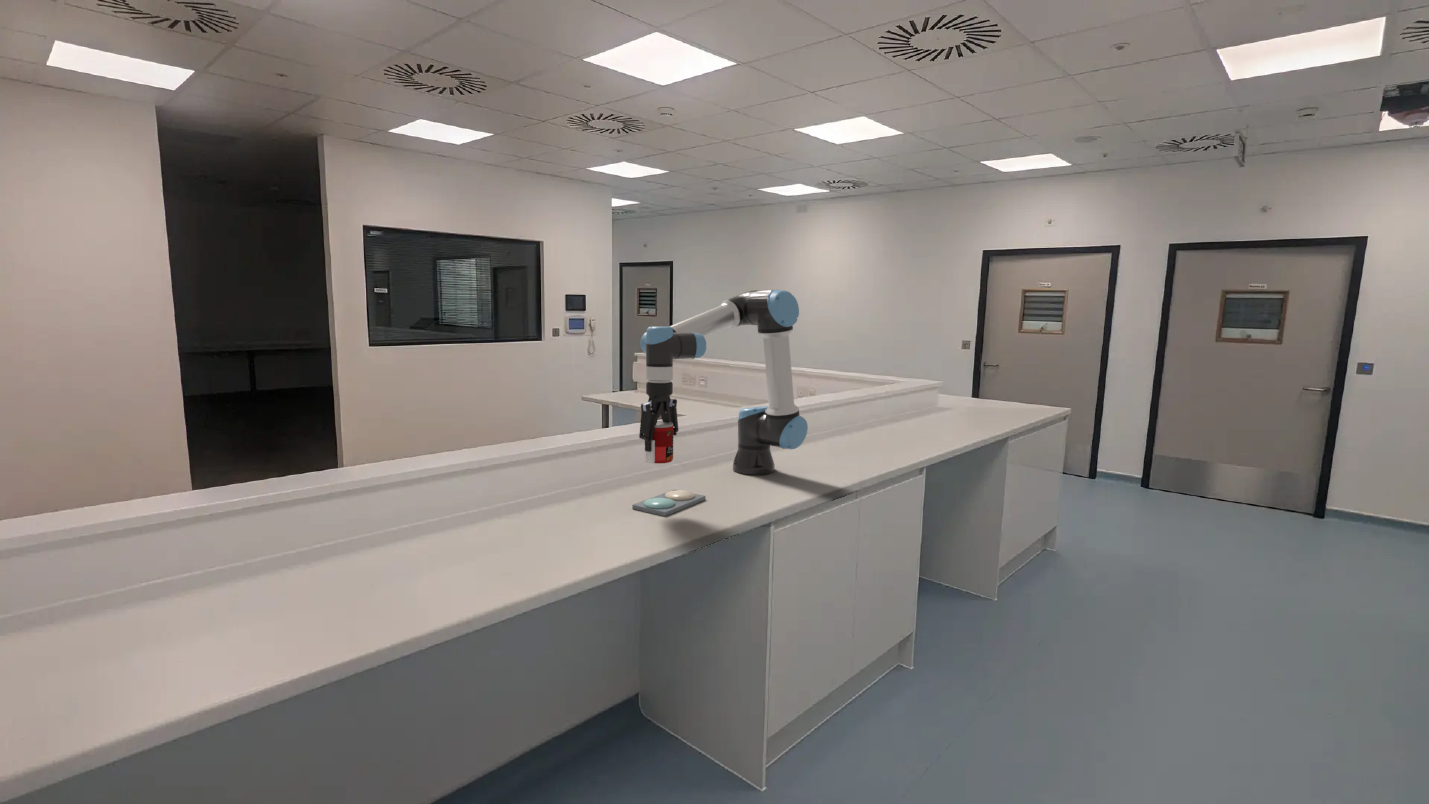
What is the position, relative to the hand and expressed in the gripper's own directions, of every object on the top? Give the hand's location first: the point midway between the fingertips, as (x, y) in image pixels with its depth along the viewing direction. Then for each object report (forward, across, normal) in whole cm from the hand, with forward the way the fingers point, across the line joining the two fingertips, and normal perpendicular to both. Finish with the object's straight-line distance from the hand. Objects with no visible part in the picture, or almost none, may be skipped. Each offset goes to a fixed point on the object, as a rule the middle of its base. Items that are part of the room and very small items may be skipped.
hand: (659, 459), depth 188 cm
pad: (+13, 0, 0) cm, 13 cm away
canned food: (0, 0, 0) cm, 0 cm away
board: (+14, -5, 0) cm, 15 cm away
